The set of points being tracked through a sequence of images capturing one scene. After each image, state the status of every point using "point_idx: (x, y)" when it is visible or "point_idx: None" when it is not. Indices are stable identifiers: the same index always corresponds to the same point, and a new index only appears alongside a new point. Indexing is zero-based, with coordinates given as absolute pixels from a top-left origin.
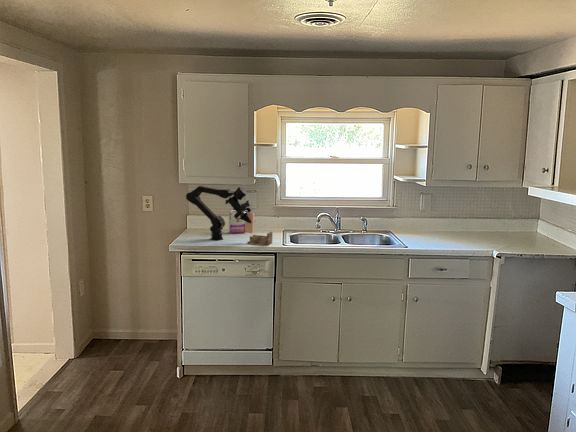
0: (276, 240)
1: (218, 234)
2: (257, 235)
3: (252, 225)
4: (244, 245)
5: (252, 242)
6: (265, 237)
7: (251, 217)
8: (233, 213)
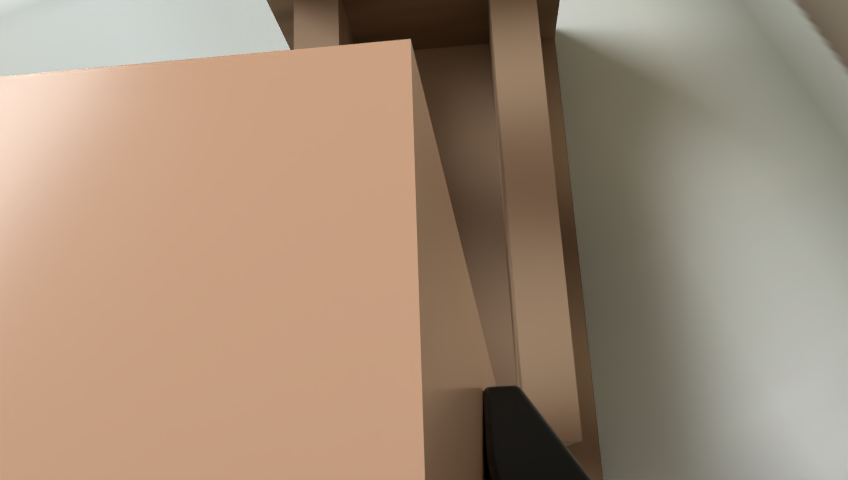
0: (43, 71)
1: None
2: None
3: (486, 351)
4: (828, 464)
5: (588, 357)
6: None
7: (465, 362)
8: None
